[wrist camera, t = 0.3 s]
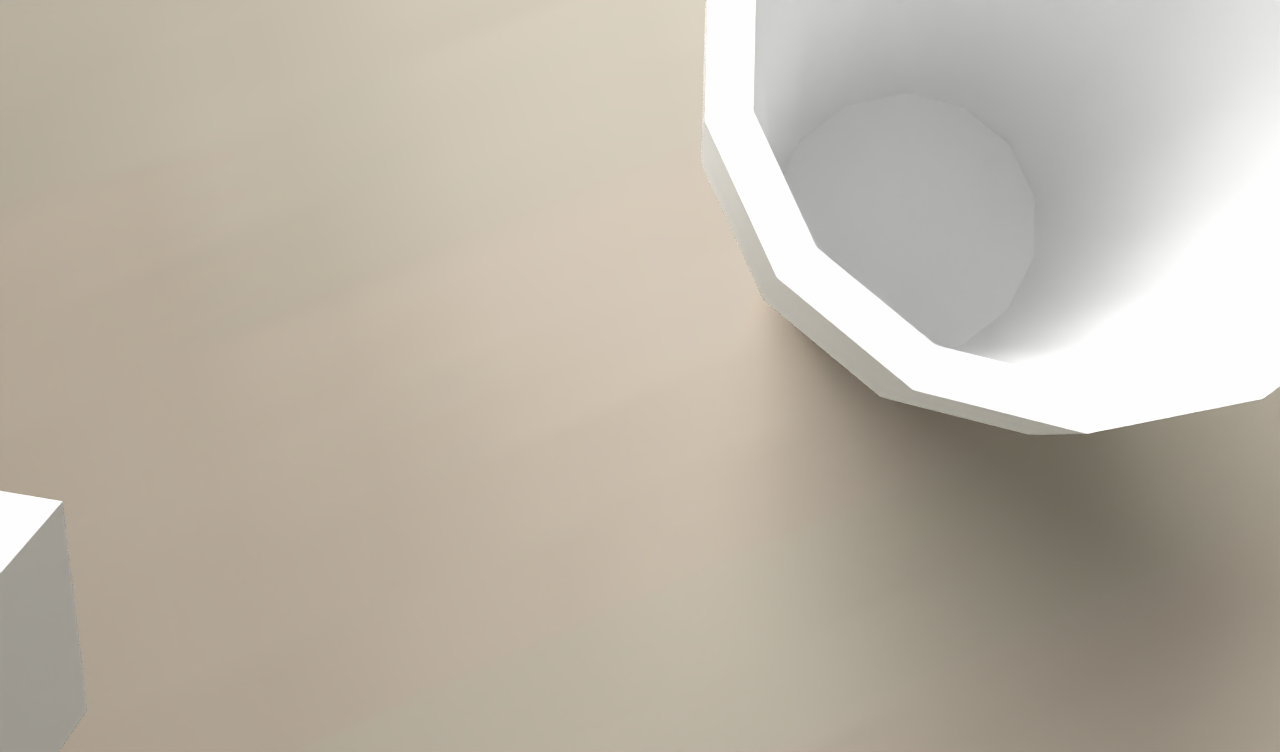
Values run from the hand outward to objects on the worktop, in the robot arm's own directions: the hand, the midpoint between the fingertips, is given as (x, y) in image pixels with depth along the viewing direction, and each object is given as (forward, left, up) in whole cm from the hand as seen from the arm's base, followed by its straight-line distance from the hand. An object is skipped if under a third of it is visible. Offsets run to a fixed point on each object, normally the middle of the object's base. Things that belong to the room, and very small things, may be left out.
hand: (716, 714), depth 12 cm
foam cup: (+8, -4, -16) cm, 18 cm away
